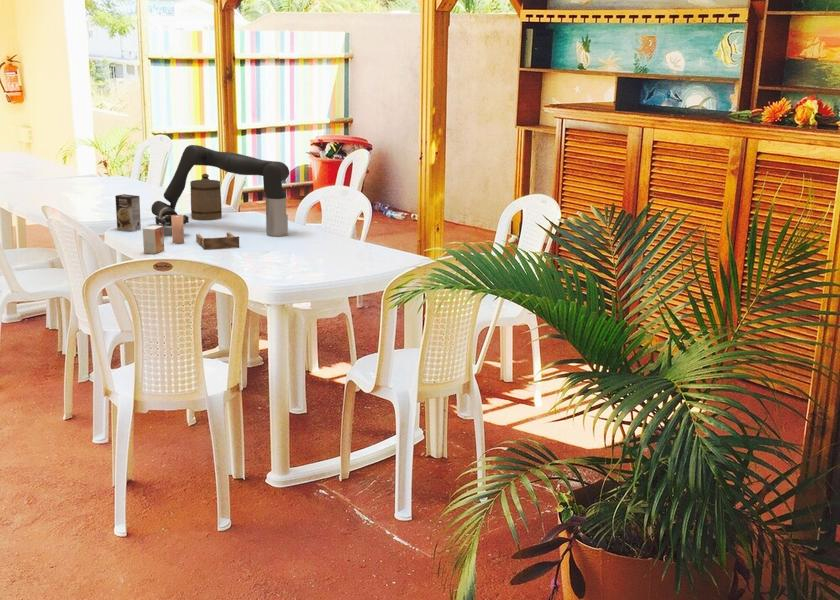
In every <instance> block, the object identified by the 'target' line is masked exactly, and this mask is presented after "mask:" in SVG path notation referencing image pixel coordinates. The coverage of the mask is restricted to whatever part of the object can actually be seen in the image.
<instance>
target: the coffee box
mask: <svg viewBox="0 0 840 600" xmlns="http://www.w3.org/2000/svg"><path fill="white" fill-rule="evenodd" d="M140 199H141V198H140V195H133V194H132V195H131V194H125V193H123V194H118V195H115V215H116V230H117V231H121V230H123V231H122V232H129V231H134V232H138V231H141V230H142V229H141V205H140V204H141V201H140ZM140 229H141V230H140ZM137 230H138V231H137Z"/></svg>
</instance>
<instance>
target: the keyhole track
mask: <svg viewBox="0 0 840 600" xmlns="http://www.w3.org/2000/svg"><path fill="white" fill-rule="evenodd" d="M195 237H196V238H195V239H196V243H197V244H199V246H200V247H201V248H202V249H203V250H206V251H207V250H218V249H232V248H231V247H237V248H240V237H239V236H235V235H234V234H232V233H231V232H226V236H225V237H203V236H202V235H201V234H200V233H199V234H198V233H196V234H195Z"/></svg>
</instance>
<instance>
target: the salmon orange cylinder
mask: <svg viewBox="0 0 840 600" xmlns="http://www.w3.org/2000/svg"><path fill="white" fill-rule="evenodd" d="M183 215H184V214H178V215H172V216H171V221H172V226H171V238H172V240H171V241H172V244H173V243H175V244H174V245H182V243H183V244H184V243H185V232H184V231H185V228H184V225H185V224H183Z"/></svg>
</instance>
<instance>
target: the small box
mask: <svg viewBox="0 0 840 600" xmlns="http://www.w3.org/2000/svg"><path fill="white" fill-rule="evenodd" d="M142 237H143V253H144V254H152V255H156V254H159V253H160V251H161V252H163V250H164V251H165V234H164V225H149V226H147V227H144V228H142ZM158 252H159V253H158Z"/></svg>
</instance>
